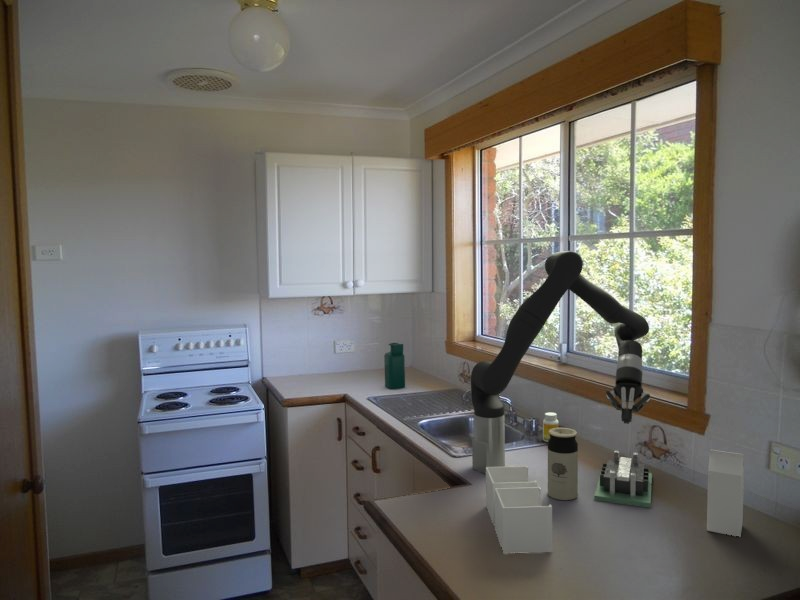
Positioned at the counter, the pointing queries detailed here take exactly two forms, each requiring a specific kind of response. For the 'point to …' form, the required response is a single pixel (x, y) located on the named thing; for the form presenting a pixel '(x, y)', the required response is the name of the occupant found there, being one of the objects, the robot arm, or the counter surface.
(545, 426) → the supplement bottle
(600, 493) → the circuit board
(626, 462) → the retention strap
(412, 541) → the counter surface
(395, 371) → the green bottle
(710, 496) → the milk carton
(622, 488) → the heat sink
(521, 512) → the white divided organizer
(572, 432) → the travel mug
